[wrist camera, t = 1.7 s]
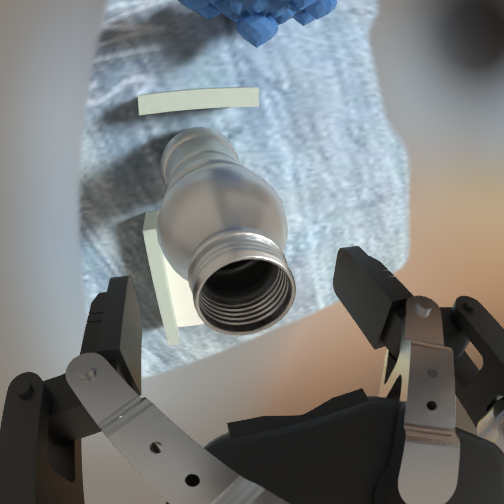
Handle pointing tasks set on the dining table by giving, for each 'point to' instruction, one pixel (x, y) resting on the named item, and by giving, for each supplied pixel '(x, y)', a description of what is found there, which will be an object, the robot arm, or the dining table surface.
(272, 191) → the silver metal bottle
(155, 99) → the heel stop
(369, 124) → the dining table surface
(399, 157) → the dining table surface
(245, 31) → the grapes
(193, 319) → the cradle
